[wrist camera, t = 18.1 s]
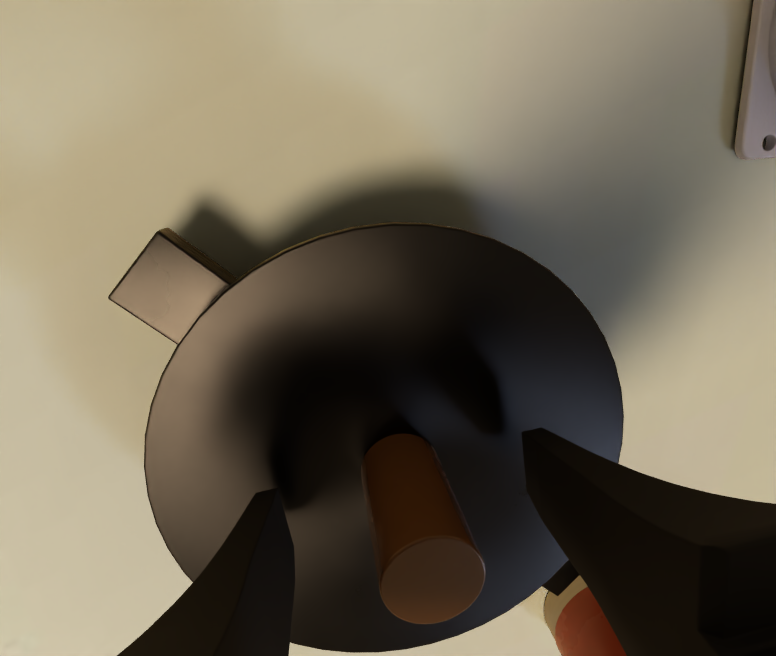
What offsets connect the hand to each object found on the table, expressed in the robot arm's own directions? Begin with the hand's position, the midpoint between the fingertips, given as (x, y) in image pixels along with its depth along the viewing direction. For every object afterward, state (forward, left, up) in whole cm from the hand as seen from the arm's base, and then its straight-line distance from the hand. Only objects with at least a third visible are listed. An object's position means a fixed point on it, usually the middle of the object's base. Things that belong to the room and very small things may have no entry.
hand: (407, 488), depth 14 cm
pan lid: (0, 0, -2) cm, 2 cm away
